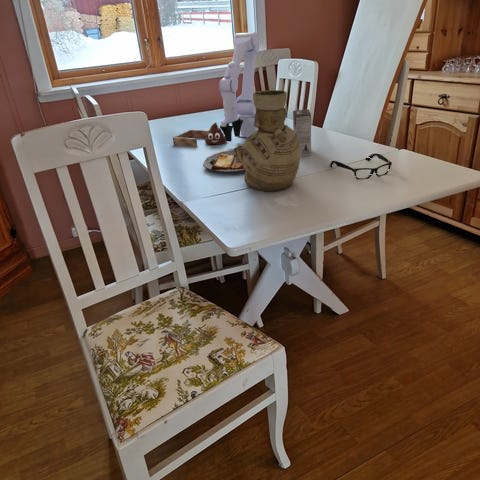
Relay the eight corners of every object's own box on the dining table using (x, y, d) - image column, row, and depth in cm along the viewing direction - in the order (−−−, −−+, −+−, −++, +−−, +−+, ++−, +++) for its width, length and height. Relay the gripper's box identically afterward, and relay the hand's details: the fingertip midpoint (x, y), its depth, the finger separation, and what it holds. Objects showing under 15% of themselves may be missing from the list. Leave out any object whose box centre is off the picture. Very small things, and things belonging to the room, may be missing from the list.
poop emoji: (227, 140, 195) (225, 119, 191) (225, 145, 188) (223, 124, 183) (206, 141, 197) (204, 121, 192) (203, 146, 189) (201, 125, 185)
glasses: (351, 185, 137) (352, 171, 134) (327, 167, 152) (327, 154, 149) (395, 177, 140) (397, 162, 138) (368, 160, 155) (369, 147, 152)
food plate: (259, 176, 149) (258, 166, 148) (197, 176, 154) (195, 167, 153) (269, 154, 171) (268, 146, 169) (214, 155, 176) (213, 147, 174)
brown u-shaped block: (213, 138, 200) (212, 130, 199) (196, 146, 189) (195, 139, 188) (191, 136, 206) (190, 129, 204) (173, 145, 195) (172, 137, 193)
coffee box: (293, 150, 172) (292, 110, 165) (308, 149, 172) (308, 109, 164) (295, 156, 164) (294, 115, 157) (311, 155, 164) (311, 114, 156)
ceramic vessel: (234, 179, 148) (226, 90, 134) (293, 172, 149) (291, 83, 135) (240, 199, 131) (231, 101, 117) (306, 192, 132) (305, 93, 118)
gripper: (230, 104, 187) (233, 134, 194) (213, 111, 176) (217, 142, 183) (244, 104, 184) (246, 134, 191) (228, 111, 173) (231, 143, 180)
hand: (233, 138), depth 187 cm, fingers open, 7 cm apart
